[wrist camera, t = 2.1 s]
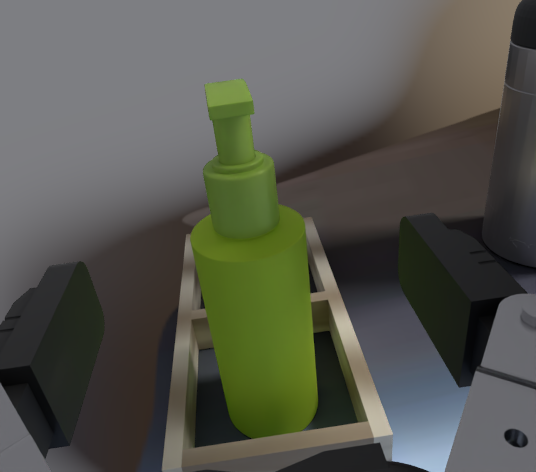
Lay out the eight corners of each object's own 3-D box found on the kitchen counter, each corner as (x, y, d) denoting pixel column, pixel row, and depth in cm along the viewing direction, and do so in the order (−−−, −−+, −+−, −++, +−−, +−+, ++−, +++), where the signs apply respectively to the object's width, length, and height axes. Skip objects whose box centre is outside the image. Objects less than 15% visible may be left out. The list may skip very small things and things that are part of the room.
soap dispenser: (303, 350, 34) (278, 64, 24) (328, 431, 28) (308, 98, 18) (224, 365, 34) (163, 81, 24) (231, 450, 28) (155, 120, 18)
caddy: (192, 260, 46) (186, 234, 45) (313, 243, 46) (311, 217, 45) (173, 503, 26) (161, 470, 24) (391, 469, 26) (393, 434, 24)
